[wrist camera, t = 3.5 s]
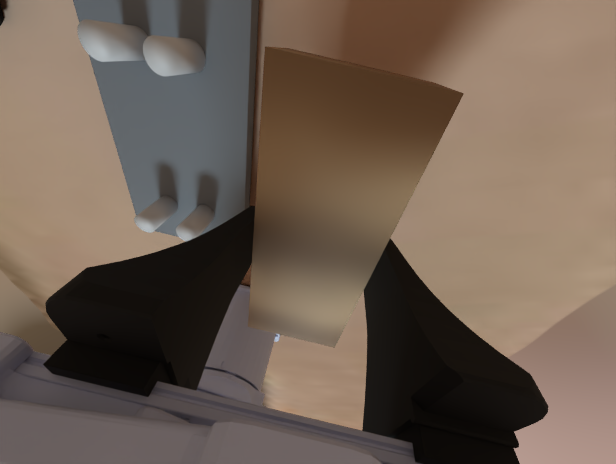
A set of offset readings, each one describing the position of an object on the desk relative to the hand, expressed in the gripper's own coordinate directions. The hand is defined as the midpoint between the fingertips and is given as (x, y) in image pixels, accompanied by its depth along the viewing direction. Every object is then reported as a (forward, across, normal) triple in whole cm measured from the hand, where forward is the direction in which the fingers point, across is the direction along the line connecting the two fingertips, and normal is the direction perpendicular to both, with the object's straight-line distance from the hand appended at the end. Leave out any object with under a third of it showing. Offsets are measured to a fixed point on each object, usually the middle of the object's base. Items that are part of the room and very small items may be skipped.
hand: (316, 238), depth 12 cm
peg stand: (+8, +11, 0) cm, 14 cm away
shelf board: (+2, 0, 0) cm, 2 cm away
